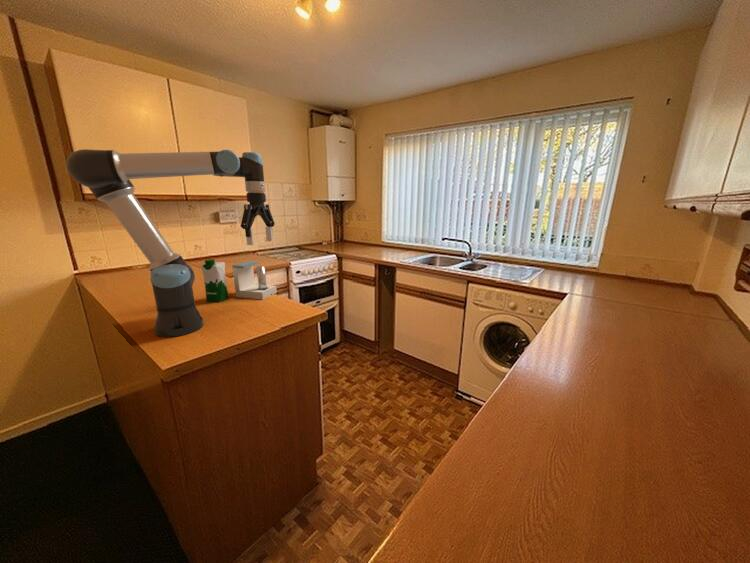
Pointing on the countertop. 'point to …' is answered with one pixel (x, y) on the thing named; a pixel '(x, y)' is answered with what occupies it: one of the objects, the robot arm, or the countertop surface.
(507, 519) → the countertop surface
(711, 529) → the countertop surface
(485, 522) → the countertop surface
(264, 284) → the peg
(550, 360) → the countertop surface
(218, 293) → the milk carton
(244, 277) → the l-shaped bracket
